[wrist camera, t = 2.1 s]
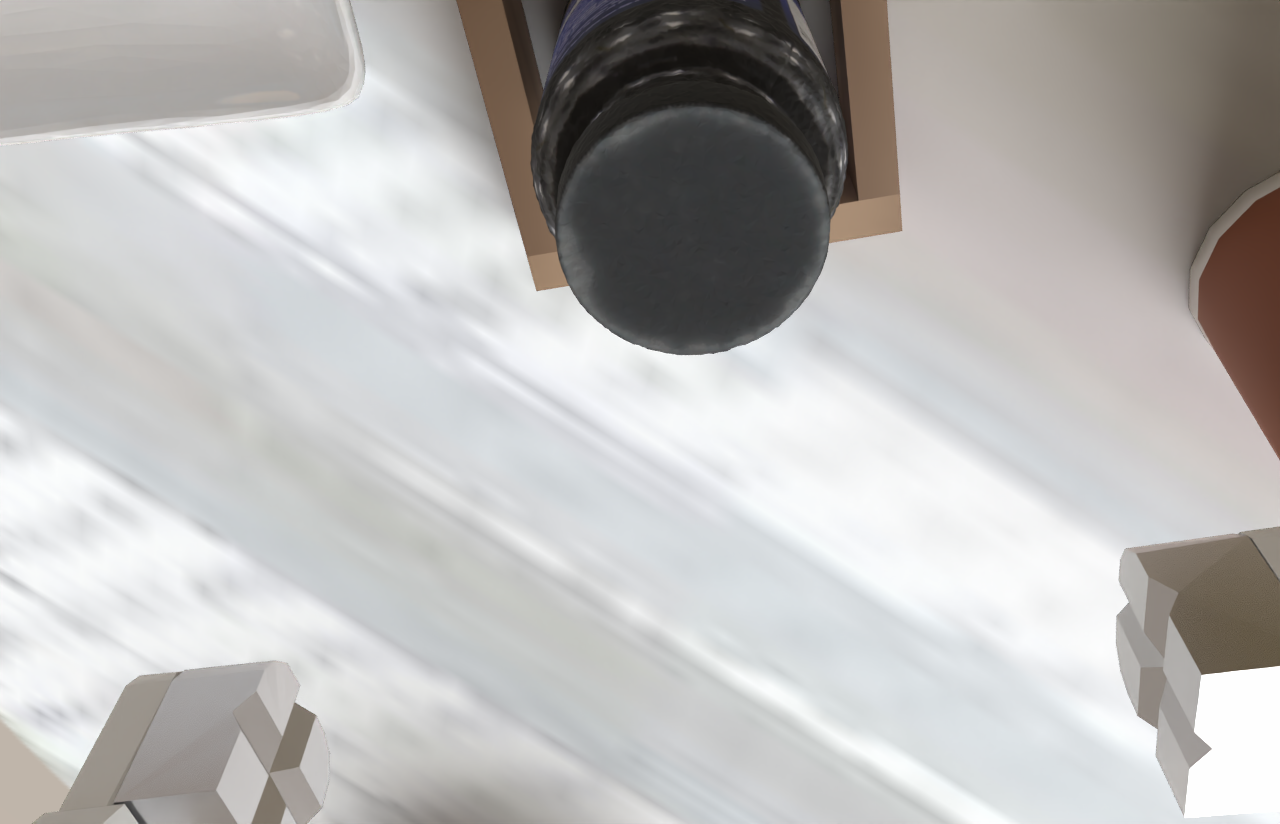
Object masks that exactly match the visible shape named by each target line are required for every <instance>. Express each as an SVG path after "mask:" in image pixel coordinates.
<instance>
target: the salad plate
mask: <svg viewBox="0 0 1280 824" xmlns="http://www.w3.org/2000/svg"><path fill="white" fill-rule="evenodd" d="M364 78H365V61H364V55H363V50H362V44H361V41H360V37H359V33H358V29H357V25H356V22H355V18H354V14H353V10H352V6H351V3H350V0H0V146H3V145H14V144H25V143H34V142H42V141H51V140H61V139H70V138H80V137H90V136H101V135H111V134H122V133H132V132H142V131H154V130H166V129H178V128H190V127H202V126H209V125H216V124H226V123H239V122H250V121H259V120H268V119H276V118H285V117H293V116H301V115H307V114H314V113H320V112H326V111H330V110H333V109H337V108H340V107H343V106H347V105H349V104H350V103H352V102H353V101H354V100H356V99H357V98H358V97H359V95H360V92H361V90H362V87H363V85H364Z"/></svg>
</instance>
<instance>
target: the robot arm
mask: <svg viewBox="0 0 1280 824" xmlns="http://www.w3.org/2000/svg"><path fill="white" fill-rule="evenodd" d="M1119 583H1120V585H1121V587H1122V589H1123V591H1124V593H1125V595H1126V597H1127V599H1128V601H1129V603H1128V604H1127V605H1126V606H1125V607H1124V608H1123V610H1122V611H1121V612H1120V613H1119V614H1118V615H1117V617H1116V646H1117V652H1118V658H1119V665H1120V671H1121V674H1122V677H1123V680H1124V684H1125V687H1126V690H1127V693H1128V695H1129V698H1130V700H1131V702H1132V704H1133V707H1134V709H1135V711H1136V714H1137V716H1139V717H1140V718H1142V719H1143V720H1145V721H1146V722H1148V723H1149V724H1151V725H1152V726H1154V727H1155V728H1157V729H1158V732H1157V744H1156V758H1157V760H1158V762H1159V764H1160V766H1161V768H1162V770H1163V773H1164V775H1165V777H1166V779H1167V781H1168V783H1169V785H1170V788H1171V790H1172V792H1173V794H1174V796H1175V798H1176V800H1177V803H1178V805H1179V807H1180V809H1181V811H1182V813H1183V815H1184V818H1189V817H1202V816H1215V815H1228V814H1241V813H1254V812H1268V811H1280V527H1273V528H1266V529H1259V530H1252V531H1245V532H1240V533H1239V534H1227V535H1220V536H1212V537H1205V538H1198V539H1191V540H1184V541H1177V542H1169V543H1162V544H1155V545H1148V546H1141V547H1134V548H1126V549H1125V550H1124V552H1123V555H1122V557H1121V559H1120V569H1119ZM299 688H300V684H299V682H298V680H297V679H296V677H295V675H294V674H293V672H292V670H291V669H290V667H289V665H288V663H285V662H280V661H266V662H256V663H247V664H237V665H228V666H218V667H209V668H199V669H190V670H184V671H182V672H172V673H162V674H152V675H142V676H139V677H137V678H136V679H134V680H133V681H132V682H130V683H129V684H128V685H126V687H125V688H124V690H123V692H122V694H121V696H120V698H119V699H118V701H117V703H116V705H115V707H114V709H113V711H112V713H111V714H110V716H109V718H108V720H107V722H106V724H105V726H104V728H103V729H102V731H101V733H100V735H99V737H98V739H97V741H96V742H95V744H94V746H93V748H92V750H91V752H90V754H89V756H88V757H87V759H86V761H85V763H84V765H83V767H82V769H81V771H80V772H79V774H78V776H77V778H76V780H75V782H74V784H73V786H72V787H71V789H70V791H69V793H68V795H67V797H66V799H65V800H64V802H63V804H62V806H61V808H60V810H59V811H57V812H51V813H44V814H43V815H42V816H40V817H39V818H38V819H37V820H36V821H35V822H33V823H32V824H307V823H308V822H309V821H310V820H311V819H312V818H313V817H314V816H315V815H316V814H317V813H318V812H319V811H320V810H321V809H322V806H323V802H324V799H325V795H326V791H327V788H328V784H329V759H330V753H329V749H328V744H327V740H326V736H325V732H324V730H323V728H322V726H321V724H320V722H319V720H318V718H317V716H316V715H315V714H313V713H311V712H310V711H308V710H306V709H305V708H303V707H301V706H300V705H298V704H296V703H295V699H296V696H297V694H298V691H299Z"/></svg>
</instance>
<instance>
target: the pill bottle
mask: <svg viewBox="0 0 1280 824" xmlns="http://www.w3.org/2000/svg"><path fill="white" fill-rule="evenodd" d="M531 140H532V142H531V161H530V165H531V172H532V175H533V187H534V190H535V193H536V198H537V200H538V202H539V205H540V209H541V212H542V214H543V216H544V218H545V220H546V224H547V226H548V229H549V232H550V233H551V234H552V235H553V236H554V238H555V240H556V246H557V253H558V258H559V262H560V265H561V268H562V271H563V273H564V275H565V278H566V280H567V283H568V285H569V286H570V288H571V290H572V292H573V294H574V295H575V296H576V298H577V299H578V301H579V303H580V304H581V305H582V306H583V307H584V308H585V309H586V311H587V312H588V313H589V314H590V315H592V316H593V317H594V318H595V319H596V320H597V321H598V322H599V323H601V324H602V325H603V326H604V327H605V328H607V329H609V330H610V331H611V332H612V333H614V334H616V335H617V336H619V337H620V338H622V339H624V340H626V341H628V342H630V343H632V344H636V345H640V346H642V347H645V348H647V349H650V350H655V351H660V352H664V353H671V354H677V355H703V354H707V353H710V354H714V353H718V352H724V351H728V350H730V349H731V348H734V347H737V346H740V345H746V344H748V343H750V342H752V341H754V340H757V339H759V338H760V337H762V336H764V335H766V334H768V333H769V332H771V331H772V330H773V329H774V328H776V327H779V326H780V325H781V324H782V323H783V322H784V321H785V320H786V319H787V318H789V317H790V316H791V315H792V314H793V312H794V311H796V310H797V309H798V308H799V307H800V305H801V304H802V303H803V302H804V300H805V299H806V298H807V296H808V295H809V294H810V292H811V290H812V288H813V286H814V284H815V282H816V281H817V279H818V277H819V275H820V274H821V271H822V268H823V266H824V263H825V260H826V257H827V252H828V245H829V240H830V222H831V219H832V217H833V216H834V214H835V211H836V208H837V207H838V206H839V202H840V198H841V195H842V192H843V187H844V181H845V178H846V168H847V164H848V142H847V135H846V127H845V120H844V118H843V115H842V110H841V108H840V105H839V100H838V97H837V94H836V92H835V89H834V87H833V85H832V83H831V80H830V78H829V76H828V74H827V71H826V69H825V67H824V64H823V62H822V59H821V57H820V54H819V52H818V49H817V47H816V44H815V42H814V39H813V37H812V34H811V32H810V30H809V27H808V25H807V22H806V20H805V17H804V15H803V13H802V10H801V7H800V4H799V1H798V0H569V1H568V3H567V5H566V7H565V11H564V15H563V18H562V22H561V26H560V31H559V35H558V39H557V43H556V46H555V49H554V52H553V57H552V61H551V65H550V69H549V72H548V76H547V80H546V84H545V88H544V91H543V95H542V99H541V103H540V106H539V109H538V114H537V118H536V122H535V124H534V127H533V133H532V137H531Z"/></svg>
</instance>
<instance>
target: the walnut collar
mask: <svg viewBox="0 0 1280 824" xmlns="http://www.w3.org/2000/svg"><path fill="white" fill-rule="evenodd" d="M456 1H457V4H458V8H459V12H460V15H461V19H462V23H463V26H464V30H465V33H466V37H467V41H468V44H469V48H470V52H471V55H472V59H473V62H474V66H475V70H476V73H477V77H478V81H479V84H480V88H481V91H482V95H483V99H484V102H485V106H486V110H487V113H488V117H489V120H490V124H491V128H492V131H493V135H494V139H495V142H496V146H497V149H498V153H499V157H500V160H501V164H502V168H503V171H504V175H505V178H506V182H507V186H508V189H509V193H510V197H511V200H512V204H513V207H514V211H515V215H516V218H517V222H518V226H519V229H520V233H521V236H522V240H523V244H524V247H525V251H526V255H527V258H528V262H529V265H530V269H531V273H532V276H533V280H534V284H535V287H536V291H540V290H546V289H552V288H558V287H564V286H569V285H568V283H567V280H566V278H565V275H564V273H563V271H562V268H561V265H560V262H559V258H558V253H557V246H556V240H555V238H554V236H553V235H552V234H551V233H550V232H549V229H548V226H547V224H546V220H545V218H544V216H543V214H542V212H541V209H540V205H539V202H538V200H537V198H536V193H535V190H534V187H533V175H532V172H531V165H530V161H531V142H532V140H531V137H532V133H533V127H534V124H535V122H536V118H537V114H538V109H539V106H540V103H541V99H542V95H543V88H542V83H541V79H540V75H539V71H538V67H537V63H536V59H535V55H534V51H533V47H532V43H531V38H530V34H529V30H528V26H527V22H526V18H525V14H524V10H523V6H522V2H521V0H456ZM830 8H831V19H832V29H833V40H834V50H835V61H836V71H837V82H838V92H839V103H840V108H841V110H842V115H843V118H844V120H845V127H846V135H847V142H848V164H847V168H846V178H845V181H844V187H843V192H842V195H841V198H840V202H839V206H838V207H837V208H836V211H835V214H834V216H833V217H832V219H831V222H830V240H829V243H832V242H838V241H845V240H851V239H857V238H863V237H869V236H875V235H881V234H887V233H893V232H899V231H902V219H901V205H900V190H899V175H898V160H897V146H896V131H895V116H894V101H893V87H892V72H891V57H890V42H889V27H888V13H887V0H830Z"/></svg>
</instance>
